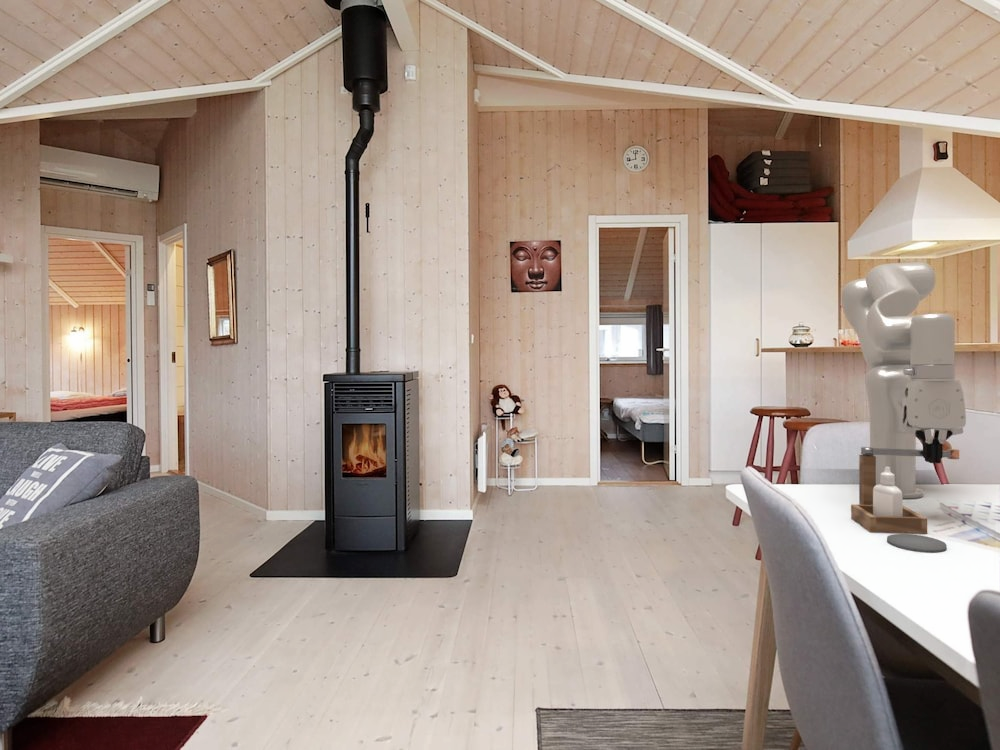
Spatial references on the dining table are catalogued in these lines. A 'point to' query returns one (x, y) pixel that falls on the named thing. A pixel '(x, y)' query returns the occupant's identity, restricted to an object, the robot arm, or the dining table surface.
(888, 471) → the eye dropper bottle
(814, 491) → the dining table surface
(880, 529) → the wooden frame with post
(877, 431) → the robot arm
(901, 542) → the mat
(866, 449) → the ball-tipped grey rod
